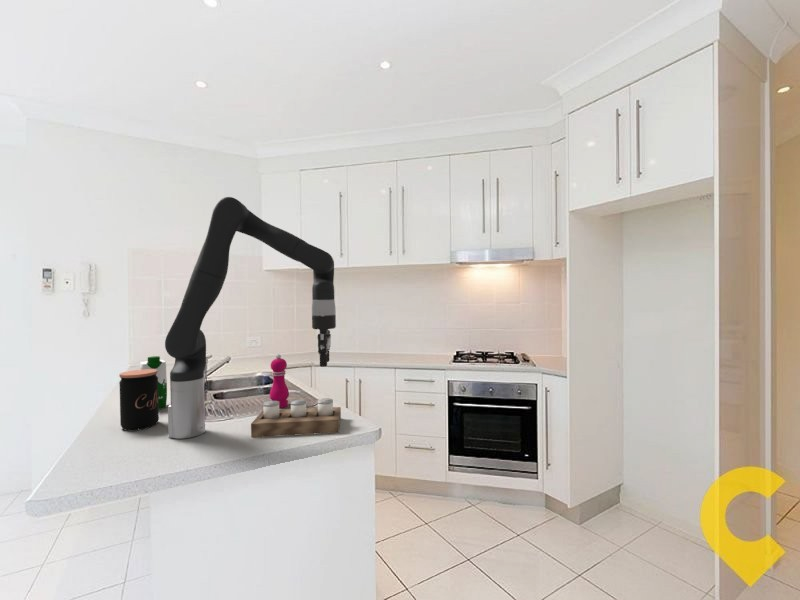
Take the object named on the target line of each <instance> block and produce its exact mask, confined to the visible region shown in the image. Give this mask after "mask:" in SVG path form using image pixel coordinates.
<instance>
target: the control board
mask: <svg viewBox="0 0 800 600" xmlns="http://www.w3.org/2000/svg"><path fill="white" fill-rule="evenodd" d="M341 409H342V408H341V406H335V407H334V406H333V416H321V417H318V407H315V408H314V407H313V408H309V407H308V408H306V417H300V418H291V408H289V409H279V419H264V410H262V411H261V412H260V413H259V414H258V415H257V416H256V418H255V419H253V421H251V423H250V436H251V438H259V437H261V438H262V436H264V437H277V436H276V435H283V436H296V435H295V434H302V435H315V434H314V433H321V434H336V433H338V432H339V431H340V428H341V426H340V425H341V420H342V413H341V412H342V411H341ZM338 434H339V433H338Z"/></svg>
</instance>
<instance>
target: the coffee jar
mask: <svg viewBox="0 0 800 600" xmlns="http://www.w3.org/2000/svg"><path fill="white" fill-rule="evenodd" d="M157 372H158V370H155V369H143V370H140V369H135V370H128V371H127V370H126V371H124V372H121V373H119V376H118V377H119V378H120V381H119V414H120V415H119V416H120V420H119V421H120V427H121V428H122V429H123V430H124V429H126V430H125V431H129V430H132V431H139V430H138V429H141V430H145V428H146V429H149V428H151V427H154V426H156V425H157V423H158V422H159V419H160V416H159V415H160V414H159V413H160V411H159V410H160V409H159V405H158V377H157V376H156V374H157ZM148 427H149V428H148Z"/></svg>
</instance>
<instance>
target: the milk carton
mask: <svg viewBox="0 0 800 600" xmlns="http://www.w3.org/2000/svg"><path fill="white" fill-rule="evenodd" d="M160 357H161V356H159V355H158V356H154V355H153V356H148V357H147V361H140V362H139V370H143V369H155V370H158V372H157V374H156V376H157V377H158V405H159V410H160V409H166V408H167V398H168V385H167V384H168V383H167V381H168V379H167V378H168V377H167V375H168V374H167V362H166V361H165V360H164V359H161V358H160Z"/></svg>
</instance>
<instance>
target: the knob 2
mask: <svg viewBox="0 0 800 600" xmlns="http://www.w3.org/2000/svg"><path fill="white" fill-rule="evenodd" d="M316 401H317V408H318V417H321V416H333V407H334V406H333V405H334V404H333V403H334V400H333V399H332V398H320V399H319V398H318V400H316Z"/></svg>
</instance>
